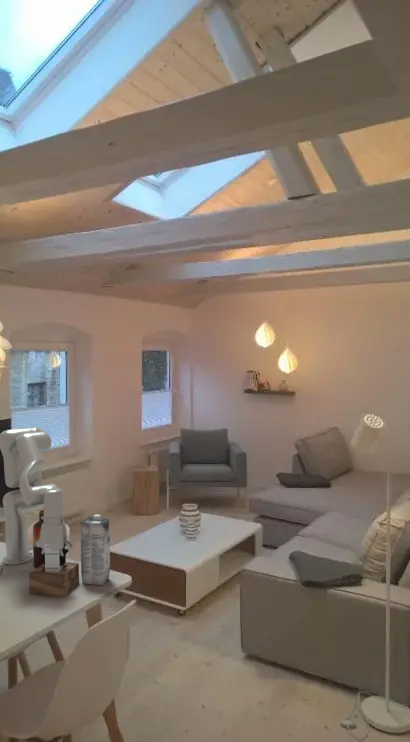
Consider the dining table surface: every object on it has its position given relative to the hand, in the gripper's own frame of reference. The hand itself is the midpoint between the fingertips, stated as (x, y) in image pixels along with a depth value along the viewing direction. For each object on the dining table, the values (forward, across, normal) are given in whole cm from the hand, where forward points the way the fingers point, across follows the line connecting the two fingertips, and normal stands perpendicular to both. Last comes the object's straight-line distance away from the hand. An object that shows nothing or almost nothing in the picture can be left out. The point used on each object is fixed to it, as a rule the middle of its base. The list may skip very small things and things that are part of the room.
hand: (54, 563), depth 219 cm
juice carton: (+10, +13, +10) cm, 19 cm away
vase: (+10, -12, +14) cm, 21 cm away
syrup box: (+6, 0, 0) cm, 6 cm away
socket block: (+10, 0, 0) cm, 10 cm away
